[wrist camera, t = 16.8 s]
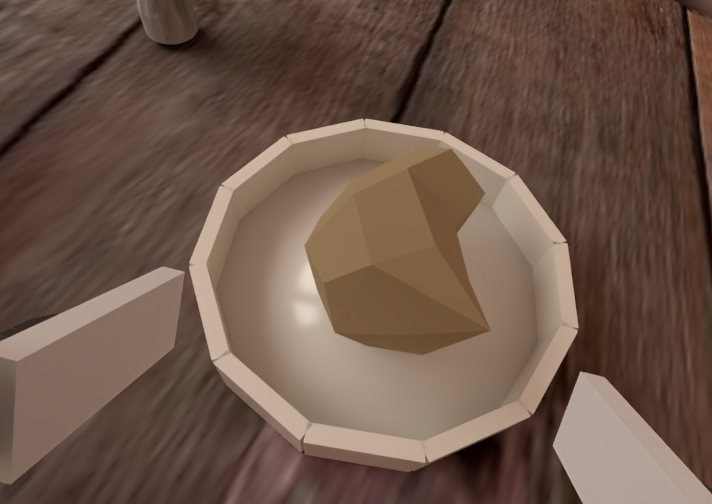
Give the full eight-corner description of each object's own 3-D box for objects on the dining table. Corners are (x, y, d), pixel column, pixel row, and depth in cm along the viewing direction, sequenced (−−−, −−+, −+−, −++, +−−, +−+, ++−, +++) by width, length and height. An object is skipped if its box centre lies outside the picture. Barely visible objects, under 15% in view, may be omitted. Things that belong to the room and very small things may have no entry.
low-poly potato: (357, 424, 27) (555, 374, 24) (256, 321, 20) (515, 233, 17) (350, 254, 38) (485, 205, 35) (283, 150, 31) (443, 78, 28)
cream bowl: (133, 301, 30) (109, 269, 27) (353, 120, 41) (357, 80, 38) (426, 566, 24) (447, 573, 20) (594, 269, 35) (628, 238, 31)
